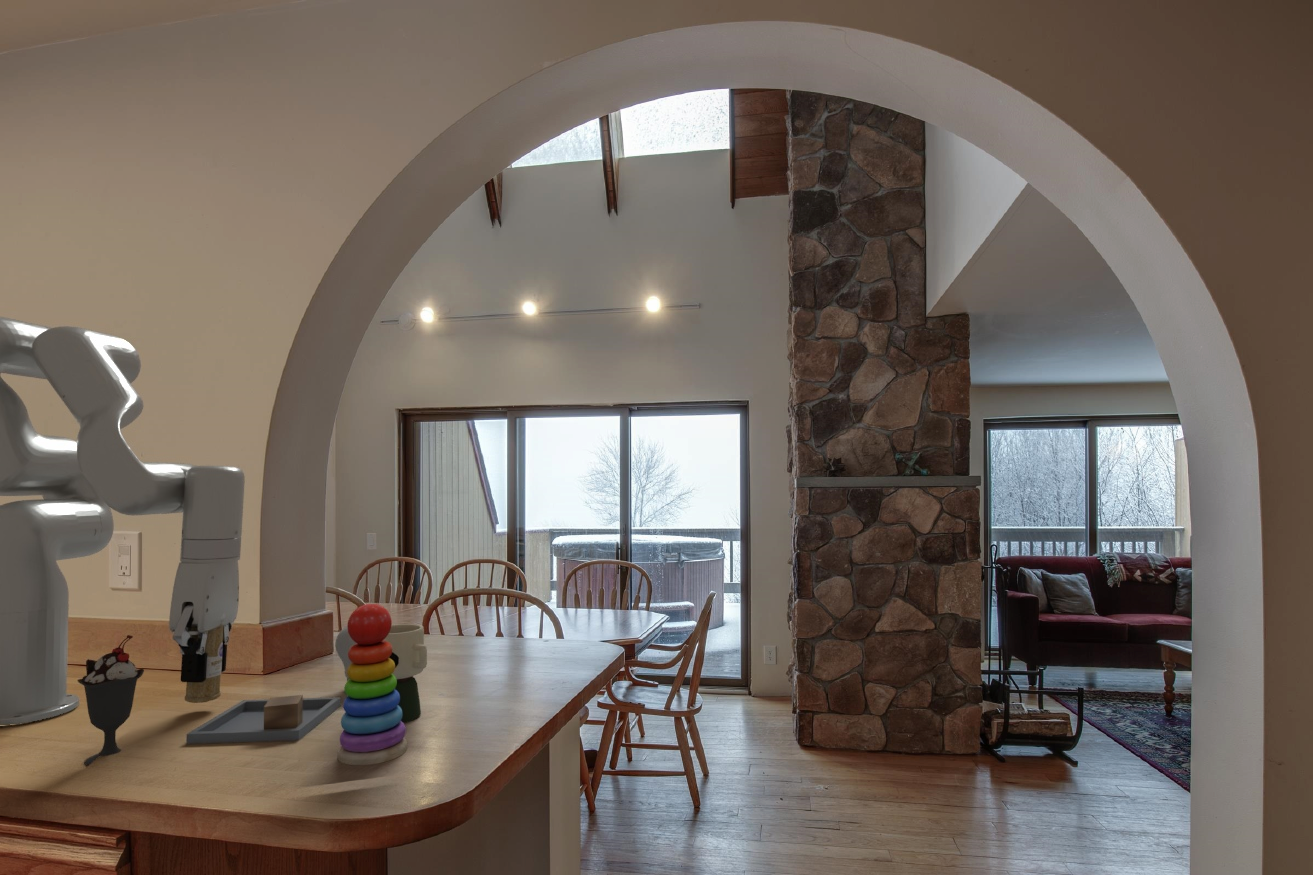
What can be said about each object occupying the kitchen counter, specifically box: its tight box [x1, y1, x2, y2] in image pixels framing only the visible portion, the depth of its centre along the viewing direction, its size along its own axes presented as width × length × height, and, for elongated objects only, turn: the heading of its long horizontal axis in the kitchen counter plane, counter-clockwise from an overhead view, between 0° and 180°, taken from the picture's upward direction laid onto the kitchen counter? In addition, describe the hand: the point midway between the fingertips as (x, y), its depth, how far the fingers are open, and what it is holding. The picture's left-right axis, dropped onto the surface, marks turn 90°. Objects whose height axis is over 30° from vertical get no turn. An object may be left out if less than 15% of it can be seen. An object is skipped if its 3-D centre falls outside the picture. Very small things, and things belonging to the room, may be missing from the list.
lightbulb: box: [334, 625, 357, 682], centre depth 116 cm, size 6×6×11 cm
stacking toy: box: [337, 603, 408, 766], centre depth 89 cm, size 8×8×19 cm
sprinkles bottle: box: [184, 614, 225, 704], centre depth 106 cm, size 5×5×14 cm
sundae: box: [77, 634, 145, 767], centre depth 91 cm, size 7×7×15 cm
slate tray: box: [185, 696, 342, 745], centre depth 100 cm, size 14×14×2 cm
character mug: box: [383, 623, 428, 724], centre depth 102 cm, size 11×7×13 cm, turn 62°
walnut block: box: [264, 694, 304, 729], centre depth 97 cm, size 4×4×4 cm
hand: (203, 675), depth 106 cm, fingers closed on sprinkles bottle, 4 cm apart
